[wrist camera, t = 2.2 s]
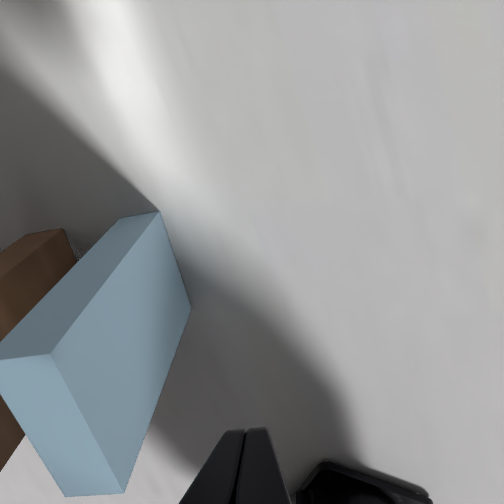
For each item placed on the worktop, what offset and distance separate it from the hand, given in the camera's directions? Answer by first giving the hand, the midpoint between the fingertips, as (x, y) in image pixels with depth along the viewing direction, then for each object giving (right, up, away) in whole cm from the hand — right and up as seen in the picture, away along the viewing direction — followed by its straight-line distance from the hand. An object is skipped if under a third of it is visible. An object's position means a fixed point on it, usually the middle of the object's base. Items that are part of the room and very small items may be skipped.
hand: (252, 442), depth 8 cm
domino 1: (-4, +3, +8) cm, 10 cm away
